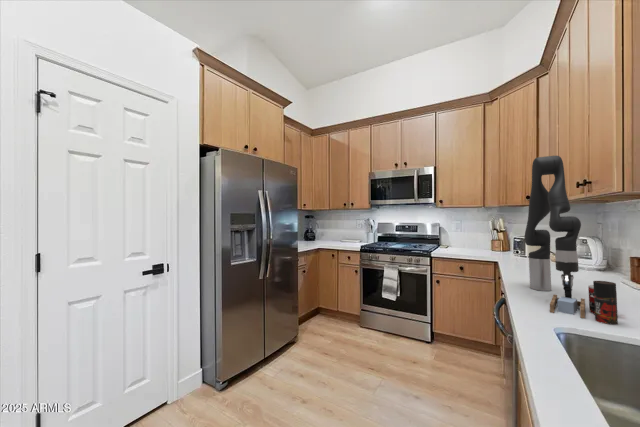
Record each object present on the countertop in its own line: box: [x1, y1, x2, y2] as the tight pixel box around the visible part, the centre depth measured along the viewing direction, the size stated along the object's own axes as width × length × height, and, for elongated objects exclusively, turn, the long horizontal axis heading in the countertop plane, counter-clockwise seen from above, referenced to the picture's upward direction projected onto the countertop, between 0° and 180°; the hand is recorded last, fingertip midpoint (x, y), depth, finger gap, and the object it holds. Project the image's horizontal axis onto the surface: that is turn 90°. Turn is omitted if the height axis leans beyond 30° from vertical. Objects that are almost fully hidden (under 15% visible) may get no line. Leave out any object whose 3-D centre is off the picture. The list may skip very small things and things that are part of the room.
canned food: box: [587, 284, 618, 315], centre depth 109 cm, size 8×8×11 cm
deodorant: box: [592, 280, 619, 326], centre depth 101 cm, size 6×6×15 cm
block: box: [557, 296, 579, 315], centre depth 113 cm, size 8×5×5 cm, turn 127°
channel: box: [549, 294, 586, 319], centre depth 114 cm, size 19×10×4 cm, turn 134°
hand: (568, 298), depth 118 cm, fingers closed
